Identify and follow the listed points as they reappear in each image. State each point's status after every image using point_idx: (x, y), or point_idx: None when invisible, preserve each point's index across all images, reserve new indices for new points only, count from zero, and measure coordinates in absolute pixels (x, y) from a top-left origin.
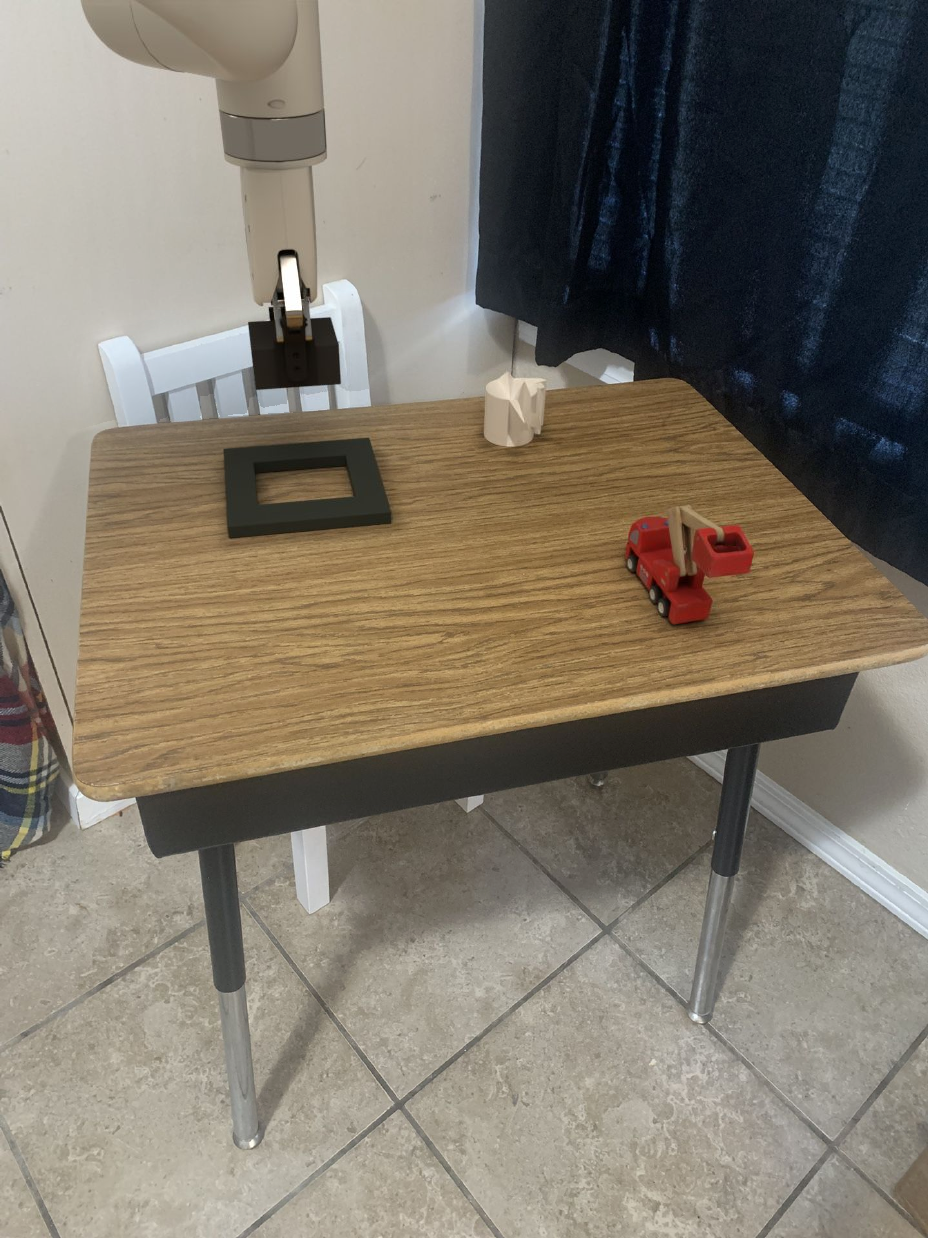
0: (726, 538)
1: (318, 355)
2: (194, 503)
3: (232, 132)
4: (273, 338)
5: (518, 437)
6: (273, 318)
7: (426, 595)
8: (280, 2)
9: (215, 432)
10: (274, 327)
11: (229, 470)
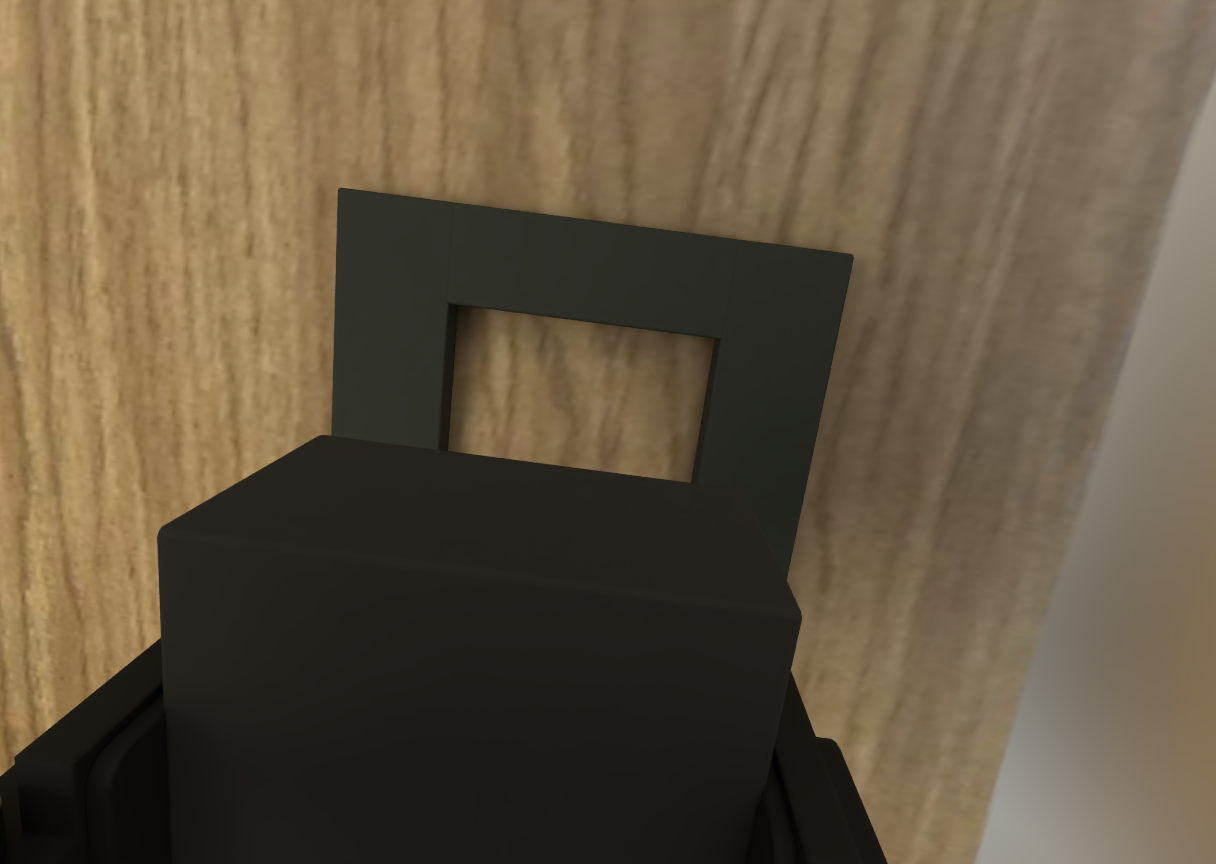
0: None
1: None
2: (588, 111)
3: None
4: (66, 763)
5: None
6: (758, 819)
7: (21, 614)
8: None
9: (1053, 252)
10: (598, 783)
11: (689, 250)
